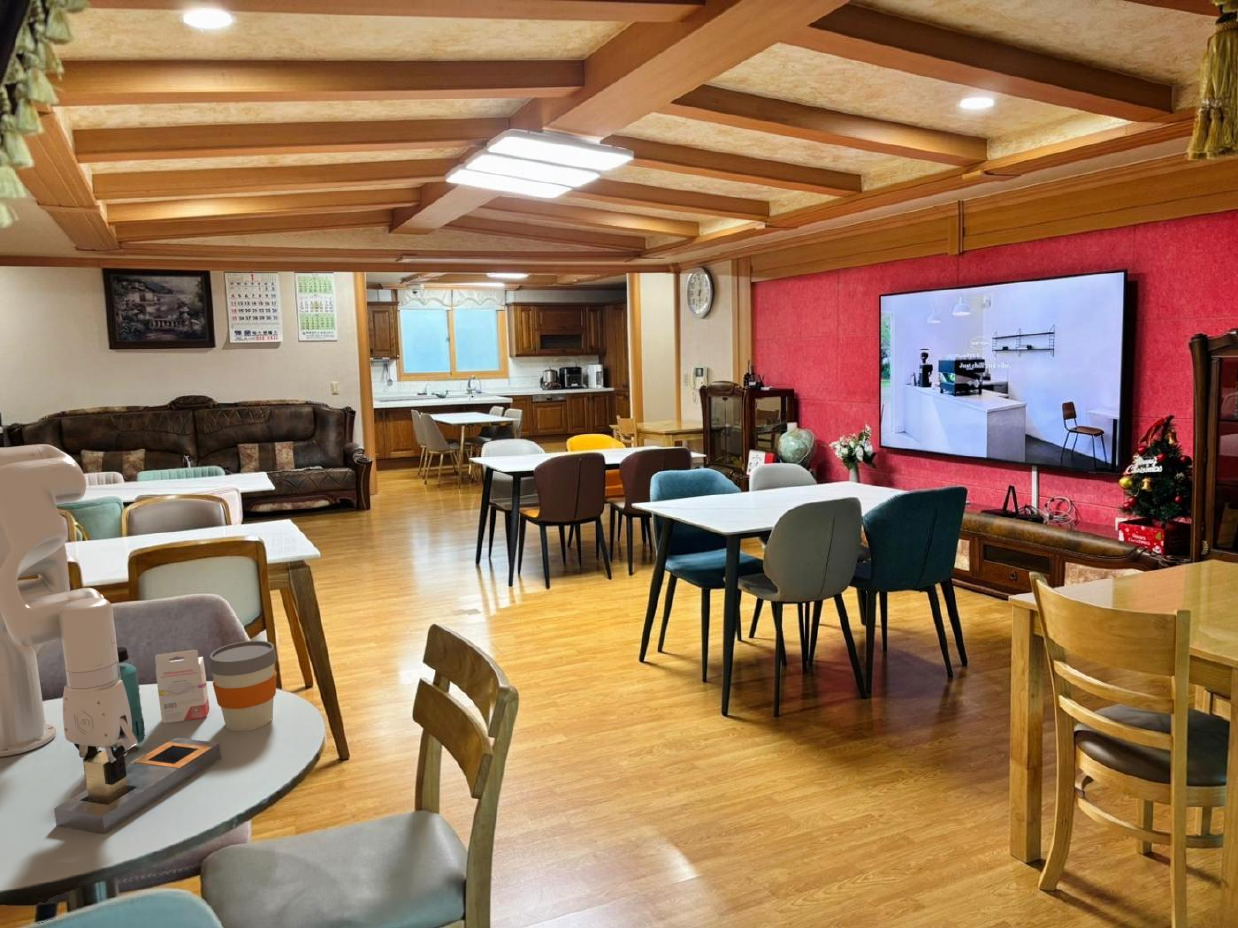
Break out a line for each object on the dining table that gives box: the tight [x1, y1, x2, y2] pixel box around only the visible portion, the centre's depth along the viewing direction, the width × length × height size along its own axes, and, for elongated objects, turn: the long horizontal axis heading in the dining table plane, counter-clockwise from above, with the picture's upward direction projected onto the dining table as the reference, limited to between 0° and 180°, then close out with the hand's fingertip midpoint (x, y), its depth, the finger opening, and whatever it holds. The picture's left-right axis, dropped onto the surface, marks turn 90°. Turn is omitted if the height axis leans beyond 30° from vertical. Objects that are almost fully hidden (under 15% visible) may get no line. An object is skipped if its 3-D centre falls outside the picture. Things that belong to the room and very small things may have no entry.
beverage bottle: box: [113, 646, 146, 750], centre depth 171 cm, size 6×7×20 cm
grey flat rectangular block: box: [53, 737, 222, 835], centre depth 156 cm, size 10×26×3 cm, turn 163°
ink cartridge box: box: [154, 649, 211, 724], centre depth 185 cm, size 9×5×15 cm, turn 106°
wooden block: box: [83, 750, 128, 805], centre depth 149 cm, size 4×4×8 cm
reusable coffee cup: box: [209, 640, 278, 732], centre depth 182 cm, size 13×13×15 cm
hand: (106, 777), depth 149 cm, fingers closed on wooden block, 4 cm apart
